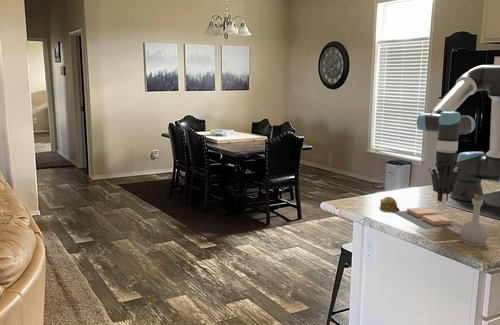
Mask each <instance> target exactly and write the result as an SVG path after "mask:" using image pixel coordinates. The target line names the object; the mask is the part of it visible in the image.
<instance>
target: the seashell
mask: <svg viewBox="0 0 500 325" xmlns="http://www.w3.org/2000/svg"><path fill="white" fill-rule="evenodd" d="M379 204H380V205H379V209H380V210H382V211H384V212H389V213H390V212H391V213H393V212H397V211H400V208H399V207H398V203H397V201H396V199H395V198H394V197H390V196H385V197H384V198H382V199H380V203H379Z"/></svg>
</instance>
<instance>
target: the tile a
mask: <svg viewBox="0 0 500 325" xmlns="http://www.w3.org/2000/svg"><path fill="white" fill-rule="evenodd" d="M406 211H407V212H408V213H410V214H412V215H414V216H416V217H422V216H426V215H435V213H436V212H435V211H432V210H430V209H428V208H425V207H410V208H406Z"/></svg>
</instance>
